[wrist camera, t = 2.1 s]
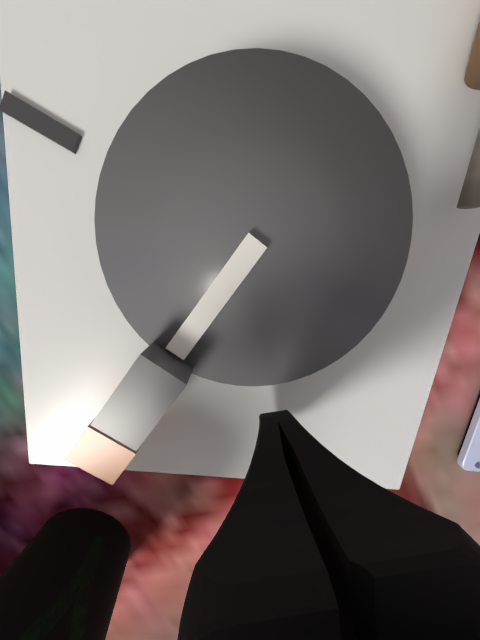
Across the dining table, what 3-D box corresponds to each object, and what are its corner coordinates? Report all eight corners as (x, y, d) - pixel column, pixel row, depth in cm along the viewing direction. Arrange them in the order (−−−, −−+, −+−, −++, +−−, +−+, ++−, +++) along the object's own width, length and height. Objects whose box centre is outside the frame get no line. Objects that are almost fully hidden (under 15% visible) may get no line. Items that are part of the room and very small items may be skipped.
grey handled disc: (224, 18, 8) (219, -132, 5) (433, 219, 10) (524, 197, 7) (20, 354, 11) (-67, 389, 7) (219, 472, 12) (215, 540, 9)
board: (531, -24, 10) (581, -74, 8) (385, 471, 14) (401, 492, 13) (14, -136, 8) (-28, -215, 7) (47, 446, 13) (25, 466, 12)
